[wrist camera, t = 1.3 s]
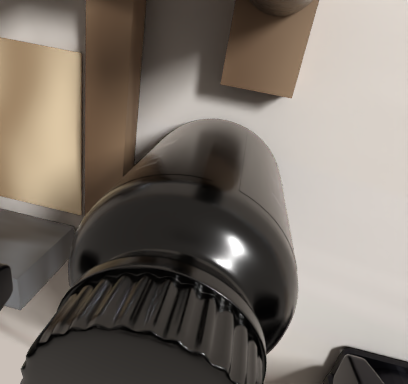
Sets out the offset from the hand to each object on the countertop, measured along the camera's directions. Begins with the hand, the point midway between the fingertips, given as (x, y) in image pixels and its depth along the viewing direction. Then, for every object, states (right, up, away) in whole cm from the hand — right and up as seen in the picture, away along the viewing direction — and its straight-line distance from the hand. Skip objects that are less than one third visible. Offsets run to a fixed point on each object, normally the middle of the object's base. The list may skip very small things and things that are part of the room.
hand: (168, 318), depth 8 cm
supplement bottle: (+2, +4, +9) cm, 10 cm away
